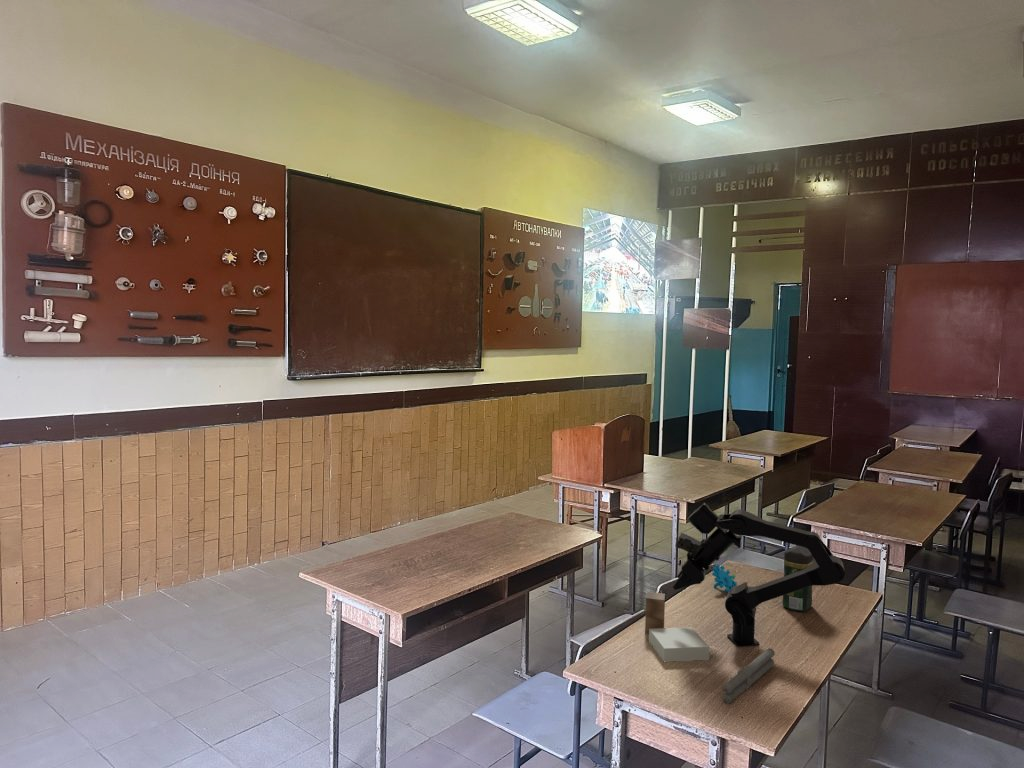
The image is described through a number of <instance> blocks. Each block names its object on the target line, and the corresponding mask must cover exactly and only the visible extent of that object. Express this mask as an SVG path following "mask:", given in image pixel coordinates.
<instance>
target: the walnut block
mask: <svg viewBox="0 0 1024 768" xmlns="http://www.w3.org/2000/svg"><path fill="white" fill-rule="evenodd" d="M665 605H666V593H662V592H652V591H647V592H646V597H645V622H644V627H645V628H644V633H645V634H649V629H658V628H665V610H666V609H665V607H666V606H665Z"/></svg>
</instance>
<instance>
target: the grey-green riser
mask: <svg viewBox="0 0 1024 768" xmlns="http://www.w3.org/2000/svg"><path fill="white" fill-rule="evenodd" d="M648 642H649V644H650V646H651V647H652V646H653V647H652V648H653V649H654V651H655V650H656V651H657V652H656V651H655V652H656V654H657V653H658V654H659V655H660V656H659V655H658V654H657V655H658V656H659V658H660V657H661V658H662V659H663V660H662V659H661V658H660V659H661V660H662V662H663V661H682V662H694V661H693V660H704V661H710V645H708V643H707V642H706V641H705V640H704V639H703V638H702V637H701V636H700V634H699V633H697V631H696V630H695V629H694V628H693V627H691V626H689V627H686V626H685V627H666V628H665V627H664V628H658V629H649V633H648Z"/></svg>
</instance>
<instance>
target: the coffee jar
mask: <svg viewBox="0 0 1024 768" xmlns="http://www.w3.org/2000/svg"><path fill="white" fill-rule="evenodd" d="M783 555H784V557H783V564H784V565H783V567H784V568H783V577H784V576H787V575H790V574H793V573H796V572H798V571H801V570H804V569H806V568H807V567H809V566H810V565H811V564H813V563H814V557H813V556H812V554H811V552H810V551H809V550H808V548H805V547H802V546H798V545H794V546H791V547H789V548H787V549H785V551H784V554H783ZM781 604H782V606H783V607H784V608H786V609H788V610H790V611H794V612H806V611H808V610H810V608H811V607H812V604H813V586H809V587H806V588H803V589H800V590H797V591H795V592H792V593H789V594H786V595H783V596H782V603H781Z"/></svg>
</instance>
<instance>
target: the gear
mask: <svg viewBox="0 0 1024 768" xmlns="http://www.w3.org/2000/svg"><path fill="white" fill-rule="evenodd" d="M725 568H726V567H725V566H724V565H719V564H716V565H715V566H714V567H713V568H712V572H711V574H712V576H713V577H715V578H714V581H715V583H714V584H713V588H715V589H716V588H717V587H719V588H720V589H723V588H724V587H725V588H724V591H725V592H726V593H728V592H729V591H730V590H731V589H732V588H733V586H738V583H737V581H734V580H735V578H736V576H737V575H736V574H734V573H733V574H732V575H730V574H731V572H730V570H729V569H726V570H725ZM724 570H725V571H724Z"/></svg>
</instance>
